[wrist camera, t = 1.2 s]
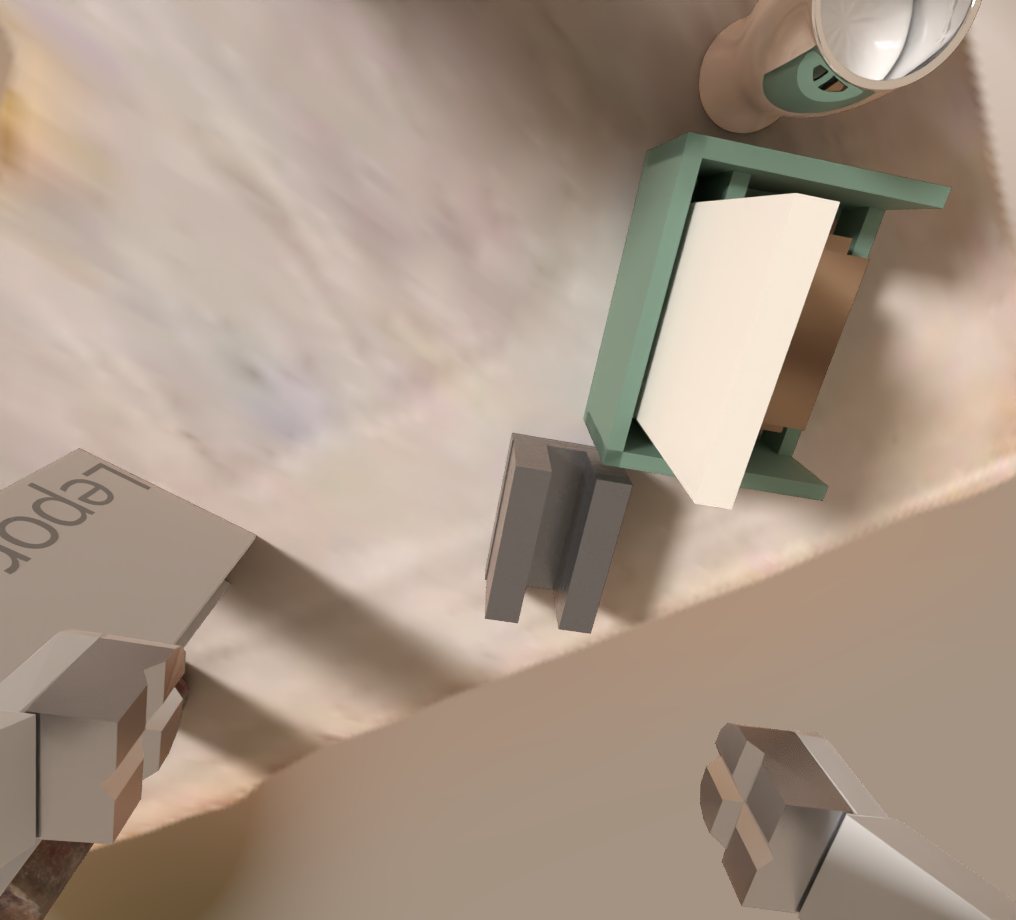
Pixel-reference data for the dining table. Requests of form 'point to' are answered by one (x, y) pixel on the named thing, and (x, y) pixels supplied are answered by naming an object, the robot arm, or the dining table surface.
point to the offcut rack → (650, 258)
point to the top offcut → (815, 339)
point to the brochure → (104, 563)
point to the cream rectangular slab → (728, 333)
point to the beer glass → (824, 56)
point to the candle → (48, 871)
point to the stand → (554, 529)
